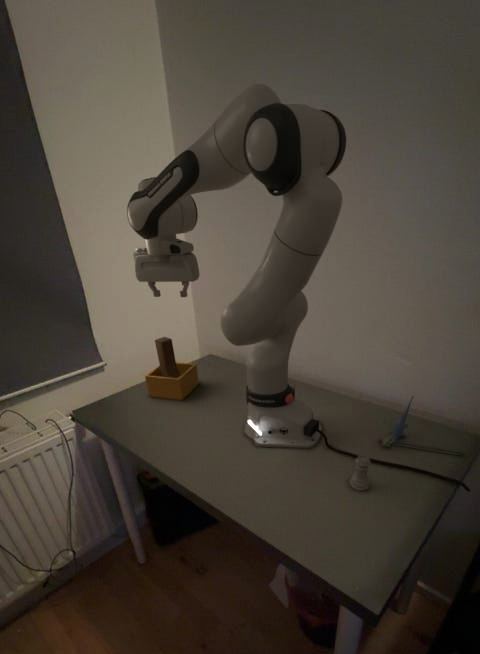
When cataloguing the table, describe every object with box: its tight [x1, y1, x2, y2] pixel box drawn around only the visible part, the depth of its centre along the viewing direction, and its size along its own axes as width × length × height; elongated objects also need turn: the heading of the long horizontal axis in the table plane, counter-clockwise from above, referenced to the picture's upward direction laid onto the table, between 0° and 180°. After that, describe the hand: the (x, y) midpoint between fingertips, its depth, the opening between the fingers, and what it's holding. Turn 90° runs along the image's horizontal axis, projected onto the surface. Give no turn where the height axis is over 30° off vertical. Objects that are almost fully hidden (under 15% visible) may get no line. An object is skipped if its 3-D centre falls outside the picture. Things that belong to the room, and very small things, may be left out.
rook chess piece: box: [349, 454, 372, 492], centre depth 79 cm, size 4×4×8 cm
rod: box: [380, 440, 462, 457], centre depth 91 cm, size 1×19×1 cm, turn 66°
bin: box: [144, 361, 200, 401], centre depth 128 cm, size 14×14×8 cm
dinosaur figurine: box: [380, 395, 414, 449], centre depth 93 cm, size 3×15×10 cm
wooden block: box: [154, 336, 181, 378], centre depth 124 cm, size 9×4×18 cm, turn 42°
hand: (170, 296), depth 108 cm, fingers open, 8 cm apart
